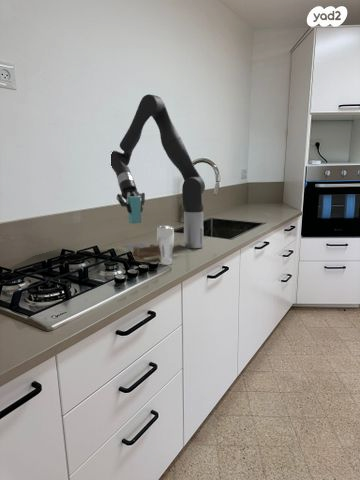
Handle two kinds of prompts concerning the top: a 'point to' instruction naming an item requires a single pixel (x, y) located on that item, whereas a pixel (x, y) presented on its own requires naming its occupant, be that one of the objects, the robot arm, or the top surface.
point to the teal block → (135, 209)
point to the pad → (130, 247)
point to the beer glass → (165, 244)
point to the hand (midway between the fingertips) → (136, 211)
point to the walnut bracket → (146, 253)
